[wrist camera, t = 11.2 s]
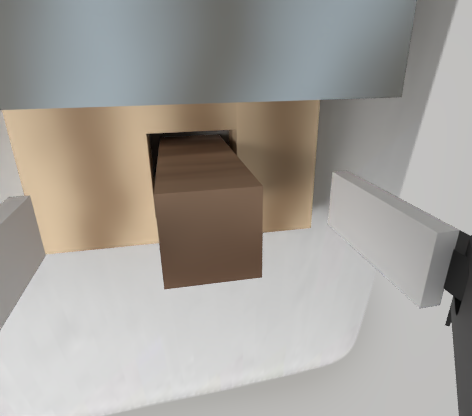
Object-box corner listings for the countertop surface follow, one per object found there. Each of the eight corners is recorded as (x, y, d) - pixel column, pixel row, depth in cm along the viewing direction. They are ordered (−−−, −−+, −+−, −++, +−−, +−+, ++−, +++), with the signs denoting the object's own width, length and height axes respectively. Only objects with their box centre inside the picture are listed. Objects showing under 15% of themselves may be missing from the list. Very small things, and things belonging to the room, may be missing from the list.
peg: (160, 137, 23) (153, 194, 12) (218, 134, 24) (263, 186, 13) (165, 192, 24) (164, 289, 13) (220, 188, 25) (262, 277, 14)
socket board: (54, 234, 24) (-44, 373, 13) (-10, -36, 18) (-298, -215, 7) (296, 212, 27) (387, 309, 16) (308, -25, 21) (468, -138, 10)
